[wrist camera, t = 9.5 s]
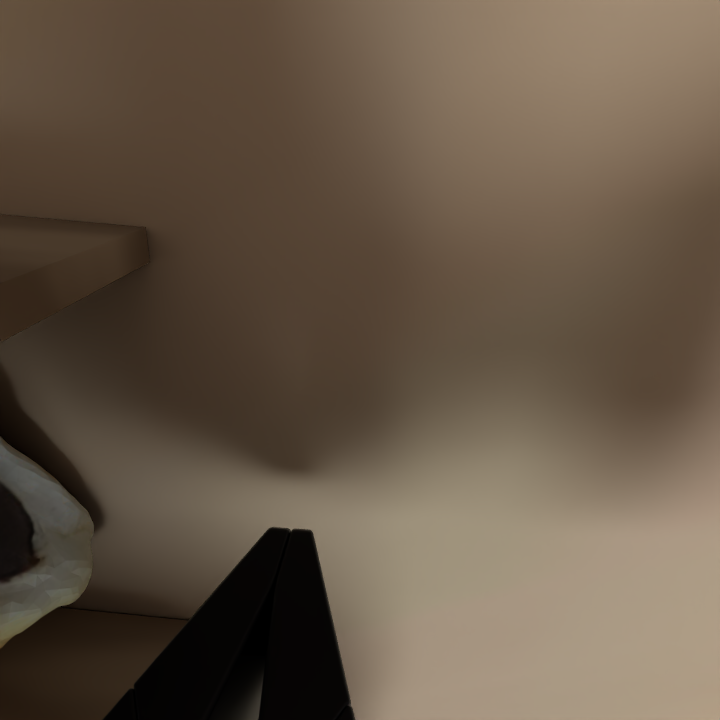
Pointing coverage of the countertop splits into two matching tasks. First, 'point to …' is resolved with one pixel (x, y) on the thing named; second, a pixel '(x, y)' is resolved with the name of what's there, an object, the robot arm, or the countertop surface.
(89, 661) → the wooden bracket
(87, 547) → the pastry
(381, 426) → the countertop surface
